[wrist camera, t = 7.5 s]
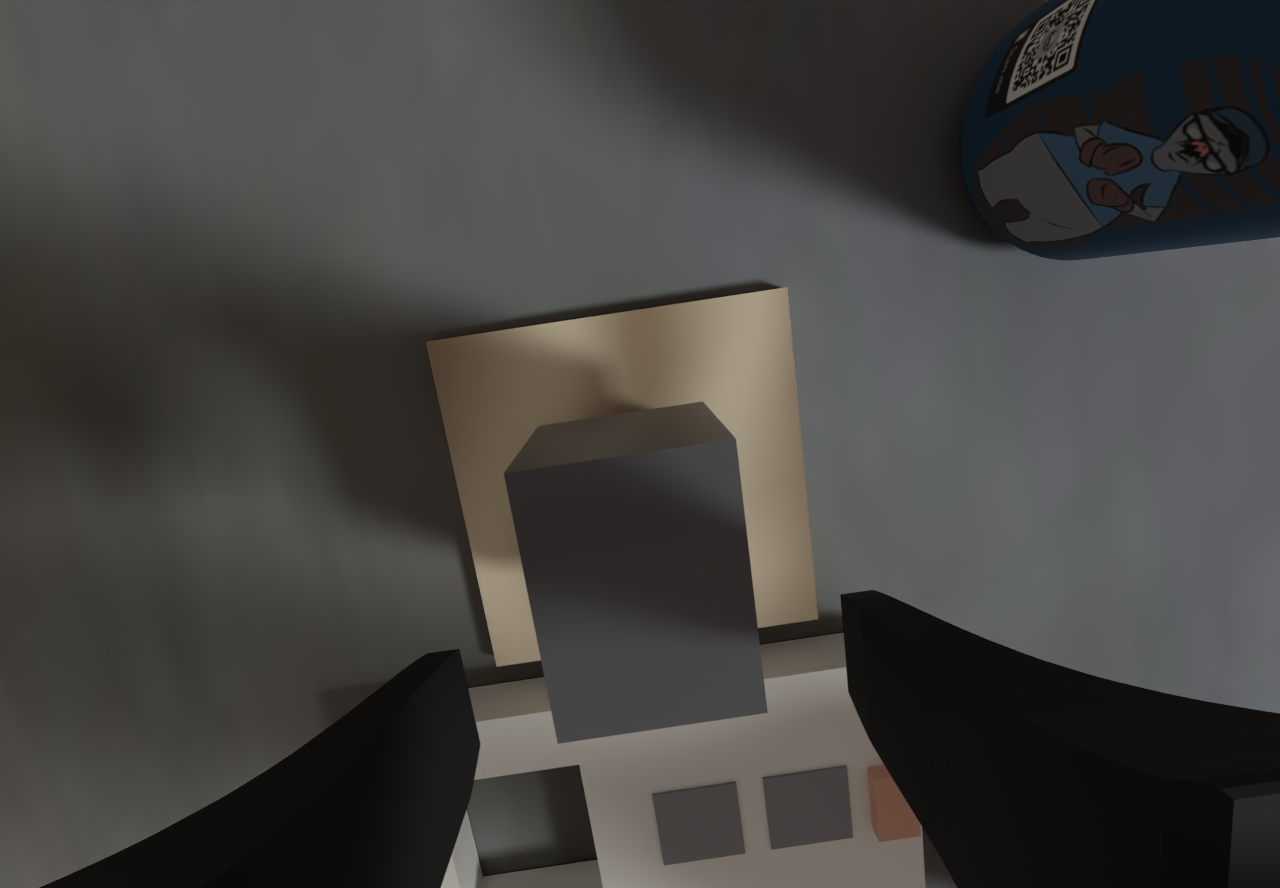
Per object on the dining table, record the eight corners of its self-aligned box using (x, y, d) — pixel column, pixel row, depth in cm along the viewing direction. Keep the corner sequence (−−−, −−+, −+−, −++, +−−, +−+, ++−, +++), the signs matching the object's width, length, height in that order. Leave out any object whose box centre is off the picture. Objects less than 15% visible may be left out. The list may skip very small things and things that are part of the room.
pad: (782, 287, 19) (787, 287, 19) (812, 610, 22) (818, 619, 21) (431, 340, 19) (425, 341, 19) (500, 657, 22) (496, 667, 21)
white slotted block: (886, 626, 22) (920, 668, 19) (901, 861, 24) (935, 926, 21) (379, 701, 22) (347, 752, 19) (439, 929, 24) (418, 1001, 21)
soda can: (1210, 63, 18) (2272, -385, 6) (1102, 293, 20) (1822, 268, 8) (998, -24, 18) (1750, -694, 6) (902, 220, 19) (1356, 74, 7)
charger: (692, 390, 19) (736, 438, 12) (715, 568, 20) (767, 712, 13) (548, 411, 19) (503, 473, 12) (580, 588, 20) (557, 743, 13)
